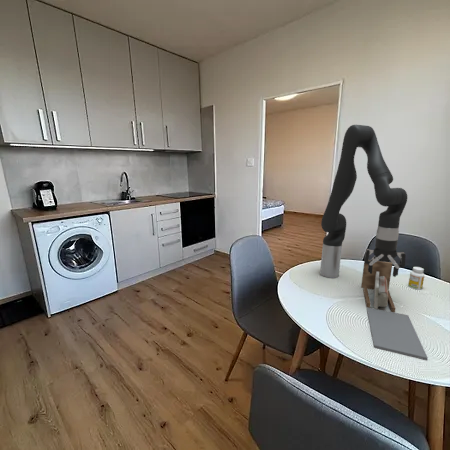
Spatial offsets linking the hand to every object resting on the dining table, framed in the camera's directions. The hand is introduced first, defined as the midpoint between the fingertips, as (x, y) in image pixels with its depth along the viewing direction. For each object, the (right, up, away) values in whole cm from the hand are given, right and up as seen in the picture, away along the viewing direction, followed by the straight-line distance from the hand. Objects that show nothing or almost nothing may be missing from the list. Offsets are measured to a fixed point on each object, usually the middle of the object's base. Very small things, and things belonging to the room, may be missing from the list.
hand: (382, 274), depth 106 cm
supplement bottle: (+25, -9, +15) cm, 30 cm away
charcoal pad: (-7, -17, -16) cm, 24 cm away
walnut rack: (+1, -12, +5) cm, 13 cm away
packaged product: (+1, -12, +3) cm, 13 cm away
